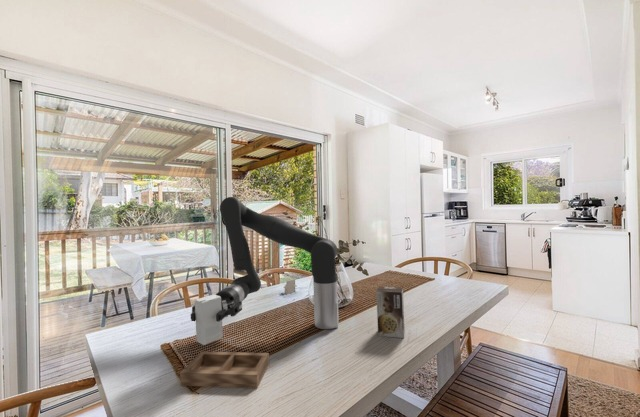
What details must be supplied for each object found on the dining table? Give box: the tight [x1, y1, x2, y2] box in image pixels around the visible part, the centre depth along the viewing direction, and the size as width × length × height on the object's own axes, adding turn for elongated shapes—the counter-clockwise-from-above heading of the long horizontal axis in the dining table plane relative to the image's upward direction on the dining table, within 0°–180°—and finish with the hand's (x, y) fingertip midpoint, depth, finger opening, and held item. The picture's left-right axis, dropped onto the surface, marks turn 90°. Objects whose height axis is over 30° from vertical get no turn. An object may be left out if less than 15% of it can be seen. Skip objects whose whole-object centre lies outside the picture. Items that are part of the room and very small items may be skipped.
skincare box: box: [194, 293, 224, 346], centre depth 85 cm, size 6×4×12 cm
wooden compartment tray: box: [179, 351, 270, 389], centre depth 85 cm, size 21×12×4 cm, turn 84°
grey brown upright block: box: [375, 285, 406, 339], centre depth 108 cm, size 9×6×16 cm
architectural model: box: [283, 279, 297, 295], centre depth 164 cm, size 3×7×7 cm, turn 129°
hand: (205, 317), depth 83 cm, fingers closed on skincare box, 6 cm apart
